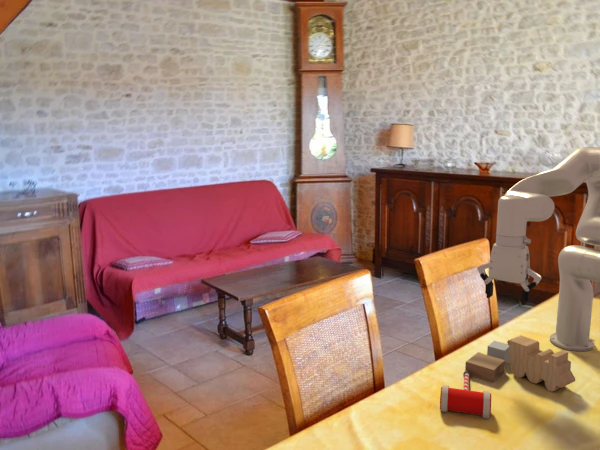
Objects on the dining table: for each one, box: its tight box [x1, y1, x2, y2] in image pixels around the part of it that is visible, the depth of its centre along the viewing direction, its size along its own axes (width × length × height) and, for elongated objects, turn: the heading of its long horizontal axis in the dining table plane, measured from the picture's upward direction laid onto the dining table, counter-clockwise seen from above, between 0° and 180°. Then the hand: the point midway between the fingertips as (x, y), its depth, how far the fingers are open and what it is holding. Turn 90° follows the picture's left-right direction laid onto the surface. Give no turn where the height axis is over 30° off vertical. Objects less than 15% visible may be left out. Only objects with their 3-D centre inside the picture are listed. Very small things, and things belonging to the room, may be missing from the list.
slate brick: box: [486, 340, 510, 366], centre depth 159 cm, size 5×5×5 cm
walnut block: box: [464, 352, 506, 384], centre depth 152 cm, size 8×8×4 cm
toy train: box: [506, 335, 576, 392], centre depth 147 cm, size 6×17×10 cm, turn 34°
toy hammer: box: [439, 370, 492, 419], centre depth 140 cm, size 23×12×6 cm, turn 162°
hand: (506, 300), depth 151 cm, fingers open, 9 cm apart
